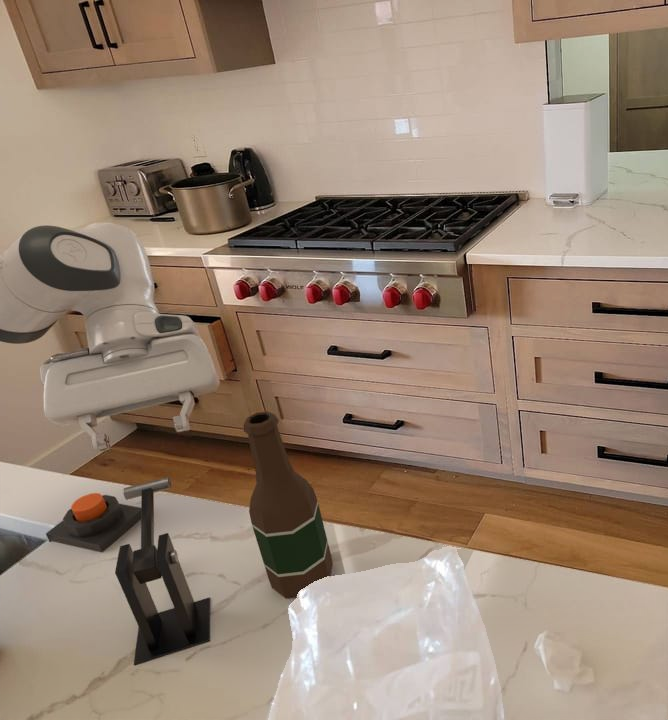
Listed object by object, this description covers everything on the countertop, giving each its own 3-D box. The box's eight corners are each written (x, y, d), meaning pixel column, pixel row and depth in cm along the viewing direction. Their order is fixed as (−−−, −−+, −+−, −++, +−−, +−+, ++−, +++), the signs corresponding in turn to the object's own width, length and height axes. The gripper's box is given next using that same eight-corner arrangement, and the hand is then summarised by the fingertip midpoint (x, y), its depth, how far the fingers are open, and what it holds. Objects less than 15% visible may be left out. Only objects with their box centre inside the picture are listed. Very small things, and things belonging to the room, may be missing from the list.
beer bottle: (314, 611, 80) (268, 441, 70) (259, 598, 83) (206, 433, 72) (346, 564, 87) (308, 403, 76) (294, 554, 89) (250, 397, 79)
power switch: (142, 625, 81) (106, 542, 75) (212, 603, 83) (182, 521, 77) (136, 671, 75) (97, 585, 69) (212, 647, 77) (180, 561, 71)
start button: (113, 506, 96) (109, 495, 96) (90, 524, 93) (86, 513, 92) (92, 502, 98) (87, 491, 97) (69, 519, 94) (64, 508, 94)
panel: (148, 520, 99) (139, 498, 97) (104, 558, 92) (94, 535, 90) (96, 509, 102) (87, 488, 100) (51, 545, 95) (40, 523, 94)
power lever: (128, 495, 82) (121, 483, 81) (172, 484, 83) (166, 471, 82) (126, 588, 73) (118, 576, 71) (175, 574, 74) (168, 562, 73)
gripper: (27, 349, 83) (40, 456, 79) (202, 314, 88) (222, 413, 84) (48, 366, 89) (61, 467, 85) (211, 332, 94) (230, 426, 90)
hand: (143, 440), depth 85 cm, fingers open, 8 cm apart
